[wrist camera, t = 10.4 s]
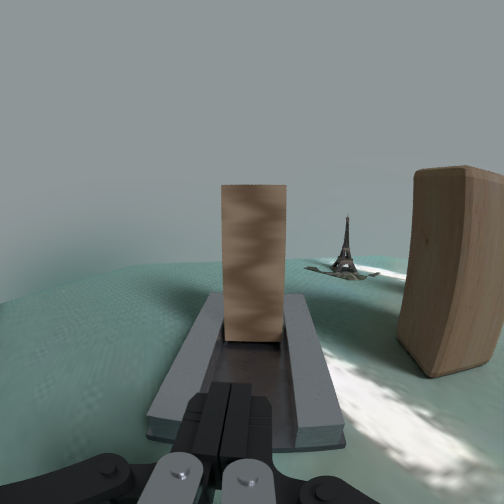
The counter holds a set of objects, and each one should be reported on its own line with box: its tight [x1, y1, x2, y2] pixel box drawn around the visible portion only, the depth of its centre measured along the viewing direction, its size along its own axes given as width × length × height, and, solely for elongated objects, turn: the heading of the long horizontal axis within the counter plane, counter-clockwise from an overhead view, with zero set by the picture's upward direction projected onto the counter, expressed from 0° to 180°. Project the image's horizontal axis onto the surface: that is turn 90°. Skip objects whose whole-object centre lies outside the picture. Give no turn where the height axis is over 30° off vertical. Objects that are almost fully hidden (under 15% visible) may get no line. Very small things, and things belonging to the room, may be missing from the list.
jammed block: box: [221, 185, 286, 342], centre depth 30 cm, size 6×6×16 cm
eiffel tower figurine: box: [306, 217, 380, 280], centre depth 58 cm, size 15×10×13 cm
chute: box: [146, 292, 346, 453], centre depth 27 cm, size 14×24×3 cm, turn 177°
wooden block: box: [397, 165, 504, 378], centre depth 23 cm, size 10×10×20 cm
